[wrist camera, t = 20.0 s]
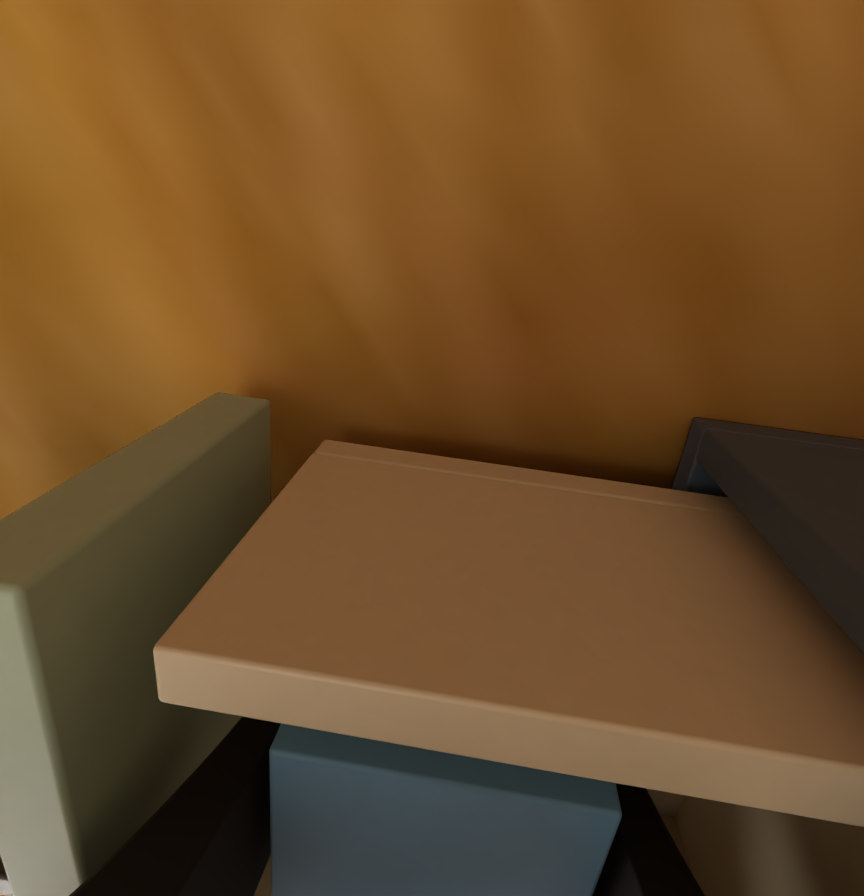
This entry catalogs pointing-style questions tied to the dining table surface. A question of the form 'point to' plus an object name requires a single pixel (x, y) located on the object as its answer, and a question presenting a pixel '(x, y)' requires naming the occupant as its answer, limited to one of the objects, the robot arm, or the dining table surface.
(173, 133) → the dining table surface
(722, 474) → the cabinet
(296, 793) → the blue tan box
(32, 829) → the drawer
